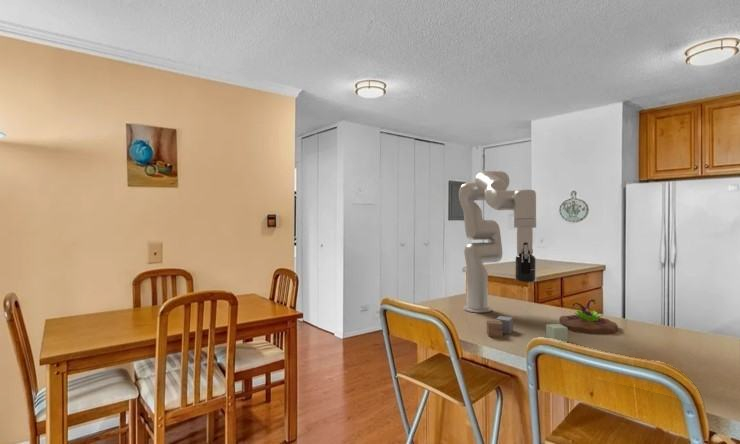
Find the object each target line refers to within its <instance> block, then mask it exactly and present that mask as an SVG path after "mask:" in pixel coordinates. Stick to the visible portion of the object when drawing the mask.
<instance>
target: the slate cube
mask: <svg viewBox="0 0 740 444" xmlns="http://www.w3.org/2000/svg"><path fill="white" fill-rule="evenodd" d="M495 320H501V322H502V323H503V334H509V335H510V334H511V333H512V332H513V331H514V317H511V316H510V317H509V316H502V315H499V316H497V317H496V318H495Z"/></svg>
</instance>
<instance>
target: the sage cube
mask: <svg viewBox="0 0 740 444" xmlns="http://www.w3.org/2000/svg"><path fill="white" fill-rule="evenodd" d="M568 333H569V330H568V328H567V327H565V326H563V325H562V324H561V323H551V324H548V323H547V324H546V325H545V338H546V337H547V338H553V339H557V340H561V341H566V342H565V343H568V342H569V335H568ZM547 338H546V339H547Z"/></svg>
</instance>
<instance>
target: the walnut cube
mask: <svg viewBox="0 0 740 444" xmlns="http://www.w3.org/2000/svg"><path fill="white" fill-rule="evenodd" d="M486 334H487V336H488V337H492V338H504V337H503V336H504V333H503V323H502V322H501V320H496V319H486Z"/></svg>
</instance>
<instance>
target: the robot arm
mask: <svg viewBox="0 0 740 444" xmlns="http://www.w3.org/2000/svg"><path fill="white" fill-rule="evenodd" d="M509 185H510V177H509V175H508V173H506V172H505V171H501V170H500V171H496V170H492V171H491V170H490V171H489V170H488V171H487V170H485V171H481V172H479V173H478V174H477V175H476V176H475V179H474V181H473V182H466V183H463V184H461V186H460V187H459V191H458V201H459V203H460V206H461V208H462V212H463V219H464V229H465V231H464V232H465V236H466V238H467V239H468V240H470V241H472V240H473V241H487V242H471V243H468V244H467V245H465V247H464V250H463V252H464V259H465V264H466V265H465V266H466V267H465V268H466V305H463V310H464V311H466V312H471V313H480V314H481V313H483V314H484V313H489V312H492V307H491V306H489V292H488V291H489V290H488V289H489V287H488V286H489V285H488V284H489V281H488V278H489V277H488V276H489V275H488V271H487V268H486V267H485V266H484V264H486V263H487V264H488V263H498V262H500V261H501V260H502V258H503V243H502V235H501V229H500V226H499V224H498V222H497V221H496V220H493V219H484V217H483V211H482V209H481V207H480V206H479V204H478V203H477V202H475V201H485V203H486V204H487V205H488V206H489V207H491V208H492V209H494V210H496V211H513V228H514V229H515V228H516V254H517V255H519V253H521V256H522V262H521V274H530V273H531V263H530V255H531V254H532V255H533V253H532V249H533V244H534V243H533V242H534V241H533V240H534V238H533V237H534V236H533V235H534V231H533V230H534V228H537V192H536V191H535V190H534V189H518V190H507V189H508V187H509ZM523 253H524V254H523Z"/></svg>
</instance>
